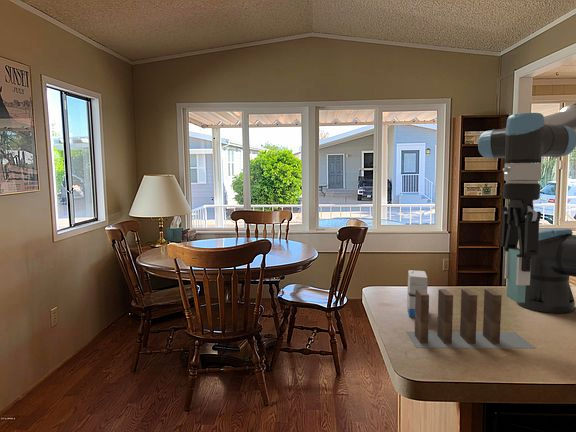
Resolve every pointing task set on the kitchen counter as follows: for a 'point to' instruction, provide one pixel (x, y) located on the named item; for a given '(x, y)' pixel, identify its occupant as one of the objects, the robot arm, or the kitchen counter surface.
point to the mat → (481, 342)
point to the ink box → (415, 282)
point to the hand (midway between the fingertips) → (516, 281)
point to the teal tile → (514, 278)
